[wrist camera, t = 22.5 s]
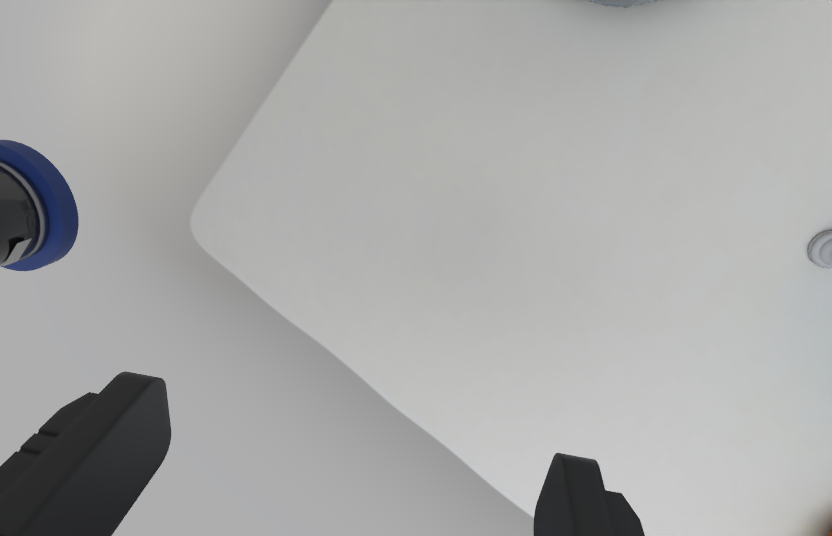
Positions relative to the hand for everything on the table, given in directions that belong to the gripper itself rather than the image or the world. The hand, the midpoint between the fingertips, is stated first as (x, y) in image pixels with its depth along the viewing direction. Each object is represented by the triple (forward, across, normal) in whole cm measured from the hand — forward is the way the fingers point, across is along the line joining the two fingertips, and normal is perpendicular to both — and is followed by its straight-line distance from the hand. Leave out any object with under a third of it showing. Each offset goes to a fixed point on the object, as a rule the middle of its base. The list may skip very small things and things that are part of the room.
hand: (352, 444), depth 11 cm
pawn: (+28, -28, +3) cm, 40 cm away
